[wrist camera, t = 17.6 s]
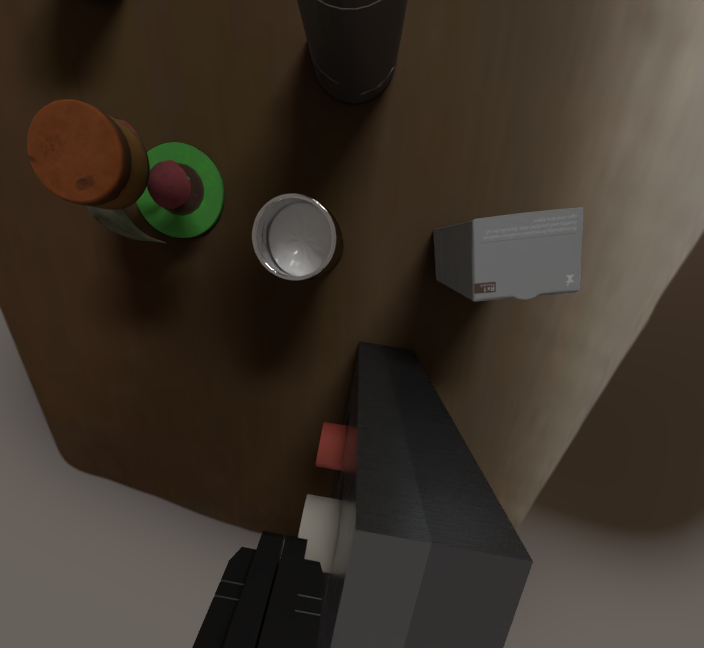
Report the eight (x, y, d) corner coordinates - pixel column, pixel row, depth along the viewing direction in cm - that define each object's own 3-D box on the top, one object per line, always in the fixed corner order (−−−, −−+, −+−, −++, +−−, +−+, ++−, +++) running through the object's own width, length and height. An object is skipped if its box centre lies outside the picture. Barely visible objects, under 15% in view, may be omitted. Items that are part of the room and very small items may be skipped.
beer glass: (299, 281, 41) (265, 293, 26) (282, 225, 40) (236, 204, 25) (353, 266, 40) (349, 270, 26) (338, 209, 39) (324, 178, 24)
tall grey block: (335, 464, 46) (289, 838, 16) (359, 341, 42) (355, 529, 13) (385, 473, 46) (429, 861, 16) (413, 350, 42) (532, 561, 13)
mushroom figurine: (184, 110, 38) (69, 13, 23) (248, 207, 39) (180, 176, 25) (106, 170, 39) (-49, 115, 24) (171, 261, 41) (64, 262, 26)
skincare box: (500, 220, 39) (592, 193, 23) (501, 280, 40) (589, 293, 25) (428, 228, 39) (472, 207, 24) (431, 287, 41) (475, 305, 25)
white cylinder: (301, 529, 26) (289, 583, 22) (310, 480, 25) (299, 527, 21) (364, 540, 26) (364, 597, 22) (374, 492, 25) (377, 540, 21)
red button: (319, 450, 37) (313, 475, 32) (325, 414, 36) (320, 435, 31) (363, 458, 37) (363, 484, 32) (370, 422, 36) (372, 444, 32)
